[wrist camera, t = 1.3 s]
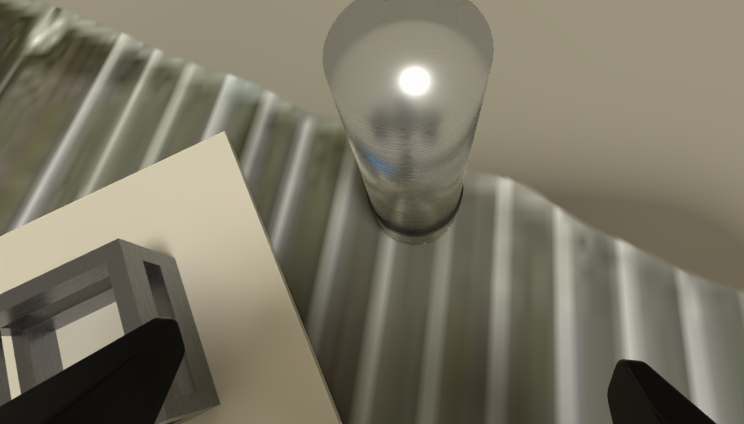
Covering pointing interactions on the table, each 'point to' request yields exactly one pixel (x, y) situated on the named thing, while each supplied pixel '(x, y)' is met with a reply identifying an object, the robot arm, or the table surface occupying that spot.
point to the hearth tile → (190, 281)
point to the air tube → (410, 104)
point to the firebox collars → (93, 292)
